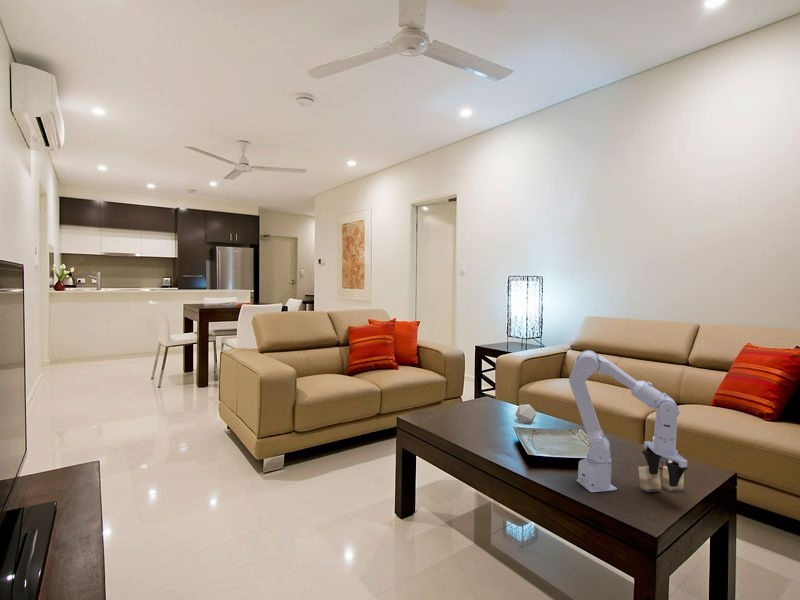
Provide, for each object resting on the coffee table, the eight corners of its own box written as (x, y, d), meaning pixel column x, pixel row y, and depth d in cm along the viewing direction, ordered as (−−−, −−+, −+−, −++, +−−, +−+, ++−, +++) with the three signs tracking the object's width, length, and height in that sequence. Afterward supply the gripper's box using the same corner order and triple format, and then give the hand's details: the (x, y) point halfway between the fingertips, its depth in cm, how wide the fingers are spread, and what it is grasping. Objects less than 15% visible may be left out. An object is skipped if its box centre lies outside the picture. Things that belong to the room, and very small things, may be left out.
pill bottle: (659, 469, 147) (660, 443, 146) (646, 461, 153) (647, 436, 151) (672, 466, 149) (673, 440, 147) (658, 458, 154) (659, 433, 153)
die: (535, 428, 189) (542, 408, 193) (518, 418, 189) (525, 398, 193) (526, 428, 197) (532, 409, 201) (509, 419, 197) (517, 400, 201)
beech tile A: (647, 492, 130) (645, 469, 131) (640, 489, 133) (638, 466, 134) (661, 490, 131) (658, 467, 132) (654, 488, 134) (651, 465, 135)
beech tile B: (669, 492, 131) (670, 470, 131) (662, 487, 134) (663, 466, 134) (683, 490, 132) (684, 469, 132) (675, 486, 135) (676, 465, 135)
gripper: (697, 445, 120) (695, 490, 121) (657, 427, 134) (656, 468, 135) (676, 446, 119) (674, 492, 119) (638, 428, 133) (637, 469, 134)
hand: (663, 479), depth 127 cm, fingers open, 7 cm apart
